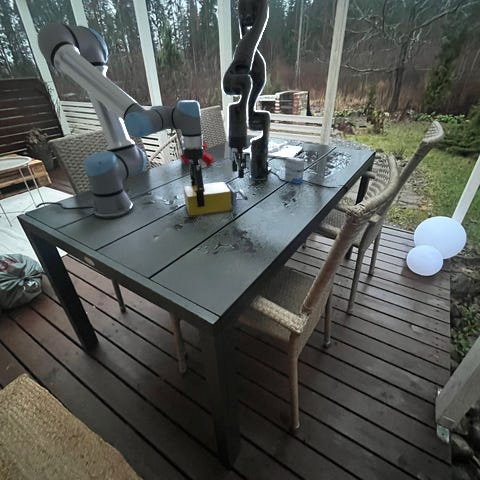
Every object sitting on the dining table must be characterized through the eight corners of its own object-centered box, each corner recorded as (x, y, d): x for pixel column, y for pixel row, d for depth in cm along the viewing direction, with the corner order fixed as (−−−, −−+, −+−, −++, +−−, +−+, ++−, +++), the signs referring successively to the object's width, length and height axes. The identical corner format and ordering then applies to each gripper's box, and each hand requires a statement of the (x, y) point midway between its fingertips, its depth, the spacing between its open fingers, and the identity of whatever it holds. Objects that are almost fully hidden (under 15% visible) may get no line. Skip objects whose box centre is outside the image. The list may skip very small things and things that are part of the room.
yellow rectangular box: (224, 200, 123) (223, 181, 119) (231, 211, 114) (230, 191, 110) (185, 206, 119) (183, 186, 114) (189, 217, 110) (187, 196, 105)
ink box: (302, 181, 142) (305, 159, 136) (297, 184, 139) (300, 161, 133) (289, 177, 147) (291, 156, 141) (284, 180, 144) (285, 158, 138)
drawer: (241, 196, 125) (240, 182, 121) (248, 205, 116) (248, 190, 113) (194, 203, 119) (192, 188, 115) (198, 213, 111) (197, 197, 107)
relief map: (291, 159, 177) (291, 151, 174) (243, 153, 190) (243, 145, 187) (302, 149, 197) (303, 142, 194) (258, 144, 211) (258, 137, 208)
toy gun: (217, 159, 166) (202, 137, 162) (214, 161, 163) (199, 139, 159) (198, 174, 176) (183, 154, 172) (195, 176, 173) (180, 156, 169)
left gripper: (178, 140, 110) (185, 191, 122) (188, 156, 91) (194, 214, 103) (197, 139, 112) (201, 189, 124) (209, 154, 93) (213, 211, 105)
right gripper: (223, 131, 109) (224, 170, 118) (233, 138, 98) (234, 181, 106) (240, 129, 111) (241, 168, 120) (253, 136, 100) (252, 179, 108)
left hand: (198, 200), depth 113 cm, fingers closed on yellow rectangular box, 11 cm apart
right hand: (237, 174), depth 113 cm, fingers open, 8 cm apart
